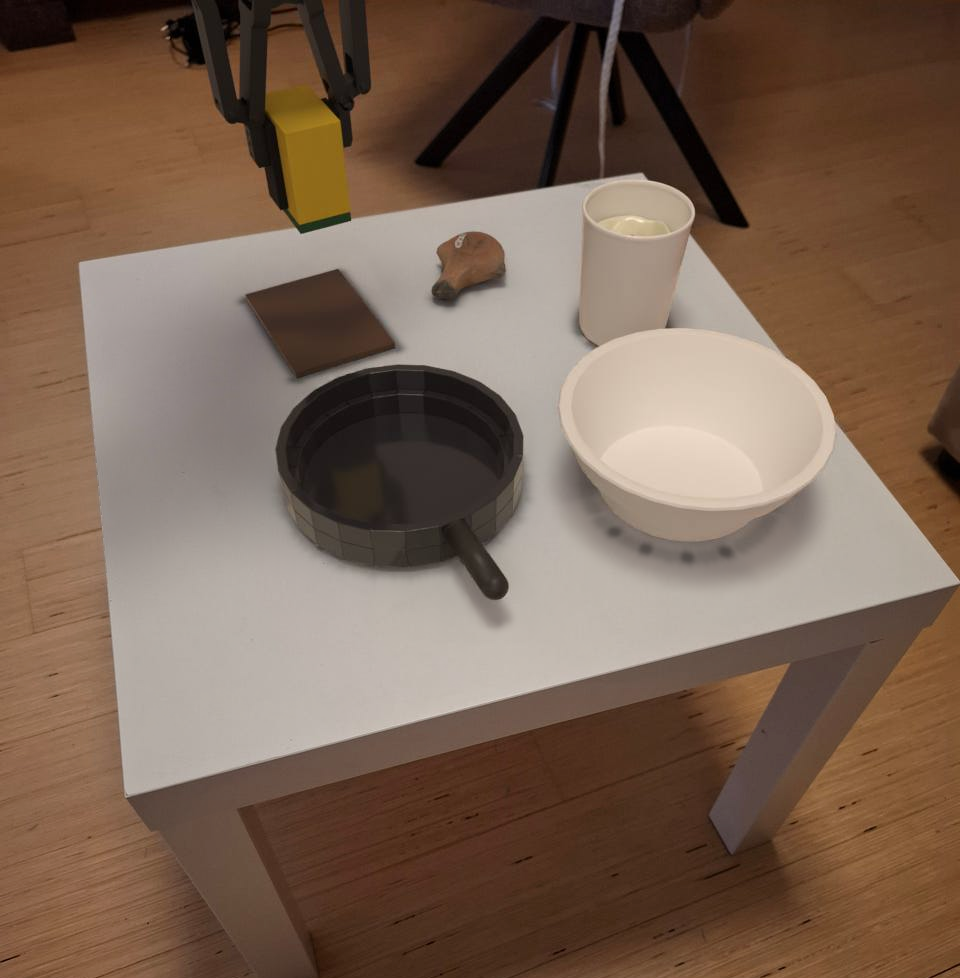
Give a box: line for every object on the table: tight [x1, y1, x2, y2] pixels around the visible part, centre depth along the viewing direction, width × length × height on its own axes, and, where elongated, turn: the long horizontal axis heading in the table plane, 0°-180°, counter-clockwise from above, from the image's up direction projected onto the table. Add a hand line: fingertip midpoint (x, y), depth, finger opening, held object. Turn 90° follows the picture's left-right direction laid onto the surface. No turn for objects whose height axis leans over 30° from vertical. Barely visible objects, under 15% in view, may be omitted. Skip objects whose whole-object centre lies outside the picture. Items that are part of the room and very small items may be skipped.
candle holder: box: [578, 178, 696, 347], centre depth 87 cm, size 10×10×12 cm
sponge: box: [265, 84, 352, 235], centre depth 76 cm, size 7×4×8 cm, turn 27°
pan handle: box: [444, 520, 510, 601], centre depth 69 cm, size 8×2×2 cm, turn 28°
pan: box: [275, 363, 524, 568], centre depth 77 cm, size 20×20×4 cm
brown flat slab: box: [245, 268, 396, 379], centre depth 91 cm, size 14×10×1 cm
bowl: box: [557, 327, 837, 543], centre depth 75 cm, size 21×21×8 cm
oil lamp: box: [431, 230, 507, 300], centre depth 95 cm, size 9×4×8 cm
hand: (308, 193), depth 78 cm, fingers closed on sponge, 4 cm apart
